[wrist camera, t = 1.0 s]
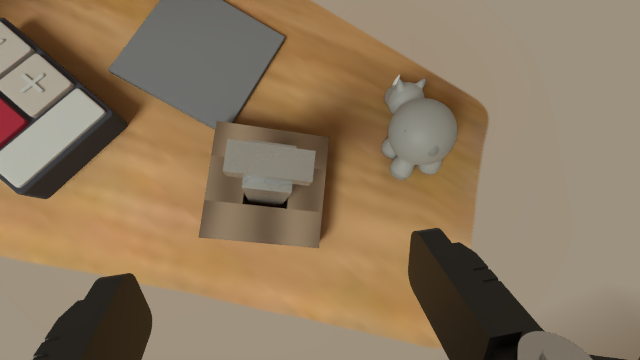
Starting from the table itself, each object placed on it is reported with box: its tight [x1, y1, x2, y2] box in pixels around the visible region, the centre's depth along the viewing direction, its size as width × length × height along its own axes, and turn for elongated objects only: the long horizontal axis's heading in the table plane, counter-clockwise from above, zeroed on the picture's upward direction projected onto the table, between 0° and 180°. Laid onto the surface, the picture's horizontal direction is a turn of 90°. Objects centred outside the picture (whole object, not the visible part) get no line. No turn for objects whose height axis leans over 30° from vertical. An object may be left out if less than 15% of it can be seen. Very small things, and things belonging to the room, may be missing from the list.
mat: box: [108, 0, 285, 129], centre depth 37 cm, size 14×14×1 cm
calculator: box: [0, 18, 128, 199], centre depth 32 cm, size 11×4×15 cm
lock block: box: [199, 121, 329, 248], centre depth 35 cm, size 12×12×3 cm
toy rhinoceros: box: [382, 75, 458, 180], centre depth 37 cm, size 7×12×8 cm, turn 7°
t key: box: [223, 139, 316, 205], centre depth 29 cm, size 6×4×15 cm, turn 85°
